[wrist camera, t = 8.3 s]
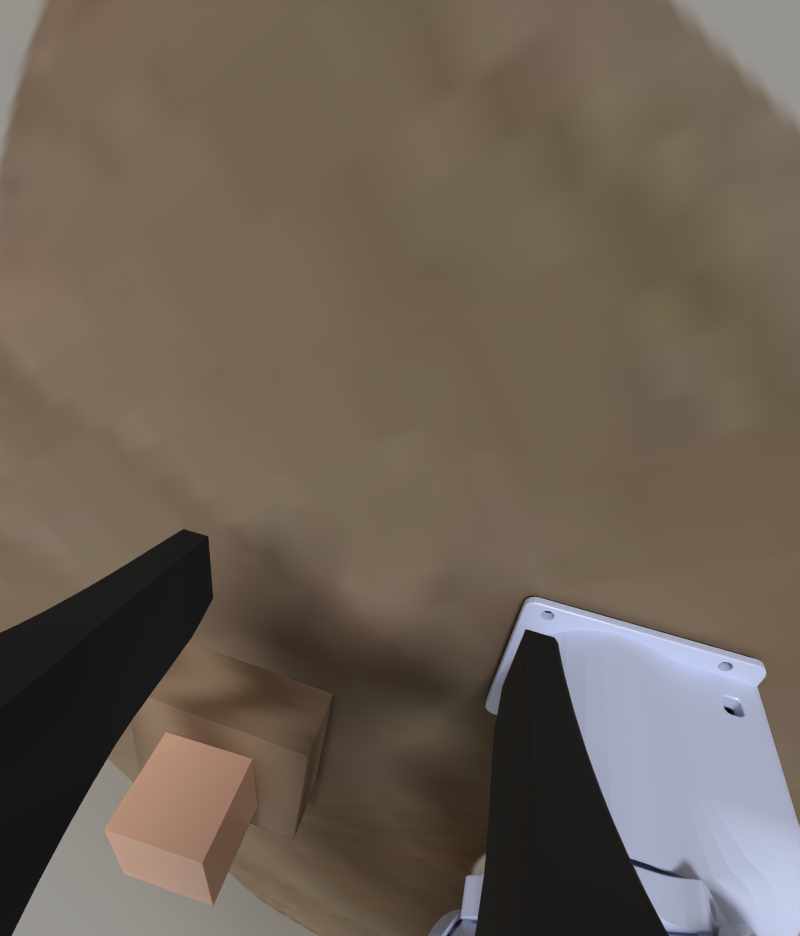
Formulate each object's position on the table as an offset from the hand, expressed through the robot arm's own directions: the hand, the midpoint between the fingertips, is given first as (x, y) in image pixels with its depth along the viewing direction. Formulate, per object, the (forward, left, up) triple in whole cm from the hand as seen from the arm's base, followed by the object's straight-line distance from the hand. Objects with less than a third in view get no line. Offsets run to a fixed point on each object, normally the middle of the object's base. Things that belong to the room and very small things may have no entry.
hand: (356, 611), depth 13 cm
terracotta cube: (+8, +23, -6) cm, 25 cm away
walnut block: (+8, +23, -10) cm, 26 cm away
